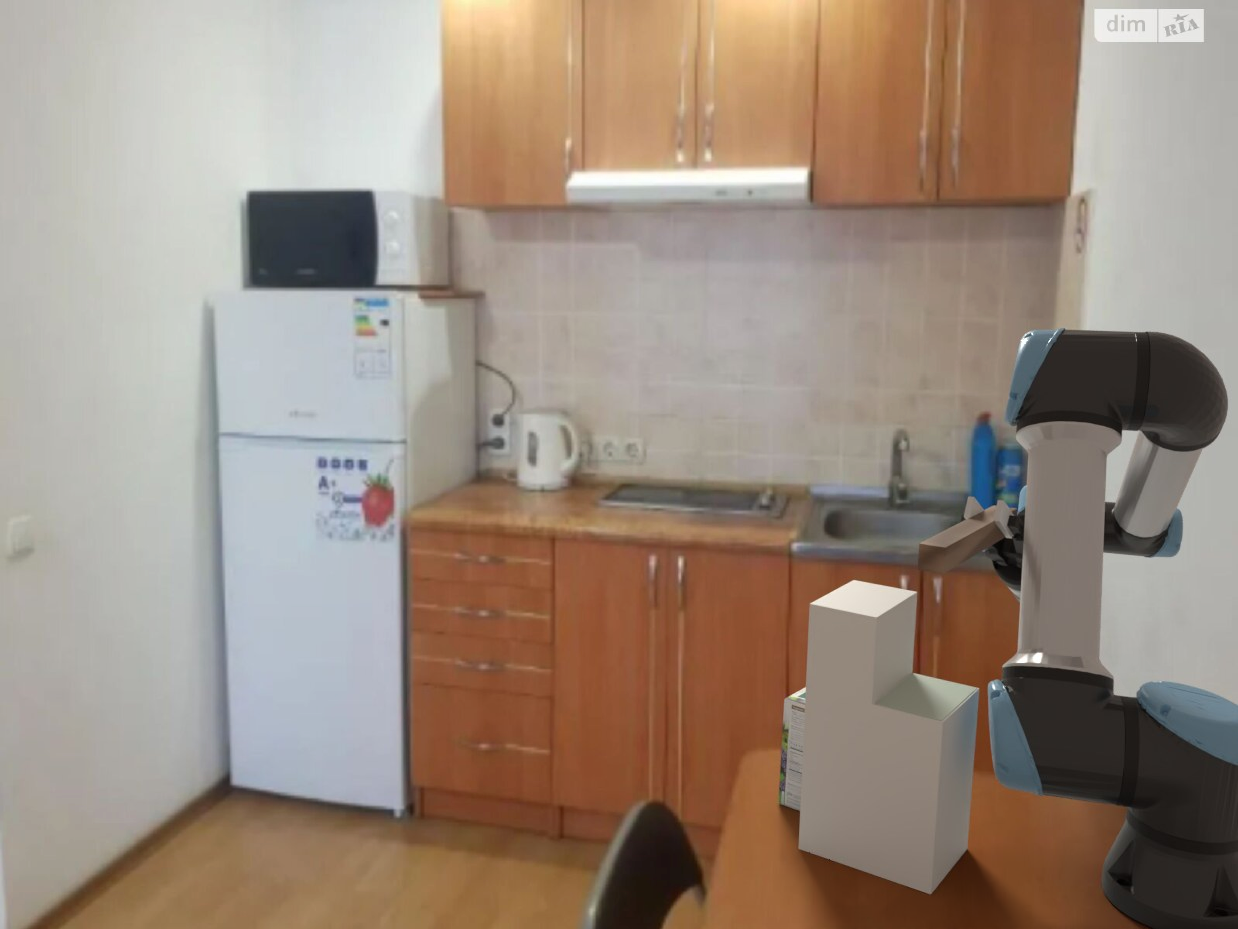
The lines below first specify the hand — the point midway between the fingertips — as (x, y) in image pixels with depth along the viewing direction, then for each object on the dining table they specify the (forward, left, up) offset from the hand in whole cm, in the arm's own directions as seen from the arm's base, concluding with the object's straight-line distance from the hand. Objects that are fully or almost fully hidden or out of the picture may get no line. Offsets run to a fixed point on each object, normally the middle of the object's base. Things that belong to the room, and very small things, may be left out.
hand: (983, 508), depth 137 cm
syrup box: (+15, +13, -39) cm, 43 cm away
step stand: (+3, +18, -38) cm, 42 cm away
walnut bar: (0, +4, -4) cm, 6 cm away
